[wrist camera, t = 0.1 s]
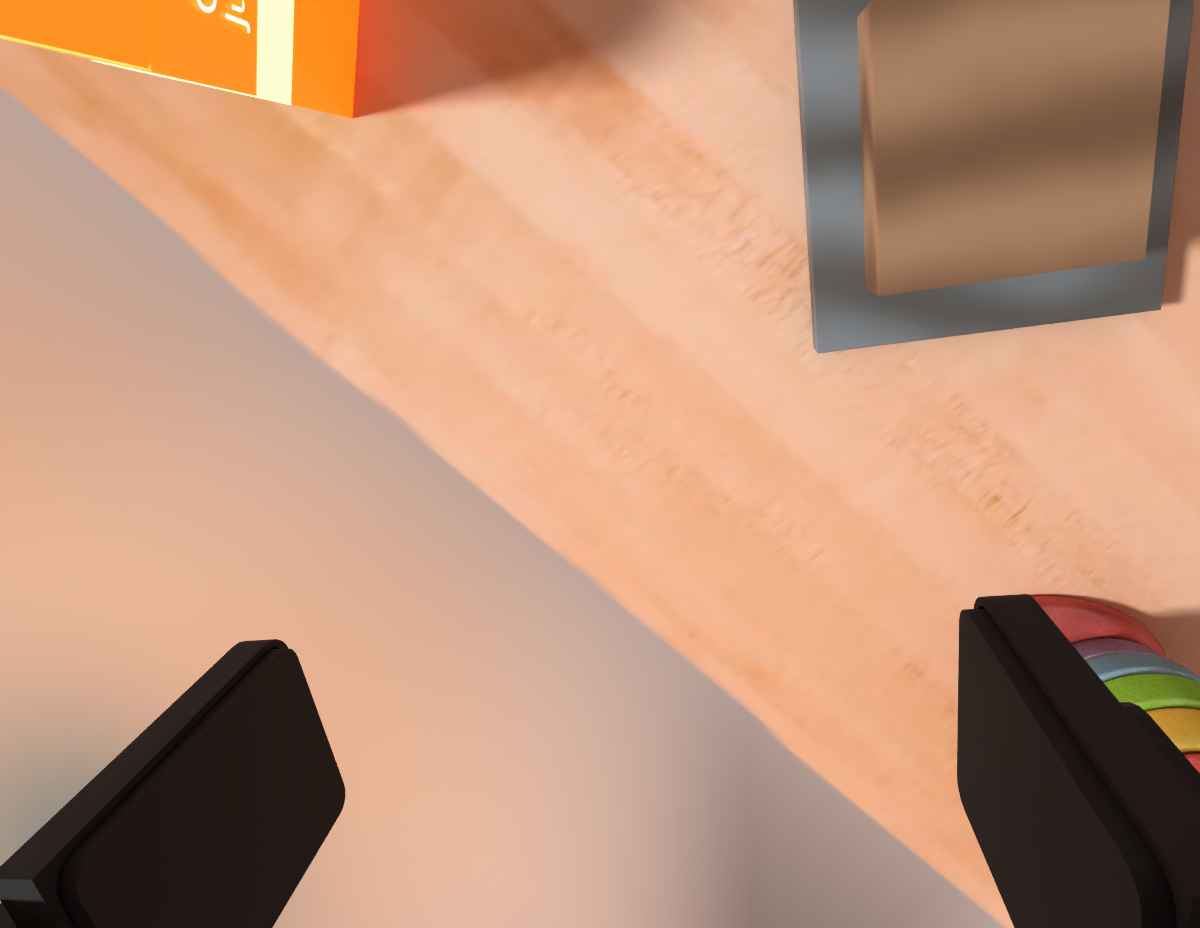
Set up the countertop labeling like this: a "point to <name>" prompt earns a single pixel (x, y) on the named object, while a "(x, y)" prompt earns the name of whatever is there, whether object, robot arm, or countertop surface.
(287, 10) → the orange juice
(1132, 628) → the stacking bear
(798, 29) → the plinth
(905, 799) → the countertop surface
